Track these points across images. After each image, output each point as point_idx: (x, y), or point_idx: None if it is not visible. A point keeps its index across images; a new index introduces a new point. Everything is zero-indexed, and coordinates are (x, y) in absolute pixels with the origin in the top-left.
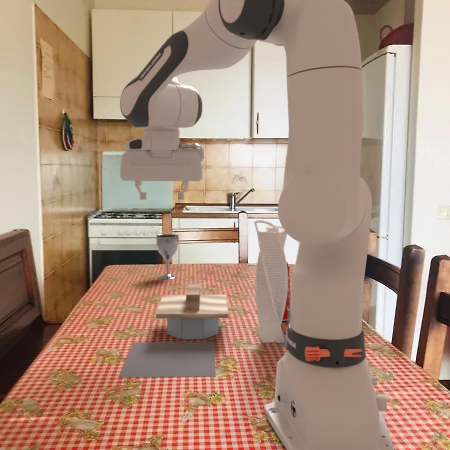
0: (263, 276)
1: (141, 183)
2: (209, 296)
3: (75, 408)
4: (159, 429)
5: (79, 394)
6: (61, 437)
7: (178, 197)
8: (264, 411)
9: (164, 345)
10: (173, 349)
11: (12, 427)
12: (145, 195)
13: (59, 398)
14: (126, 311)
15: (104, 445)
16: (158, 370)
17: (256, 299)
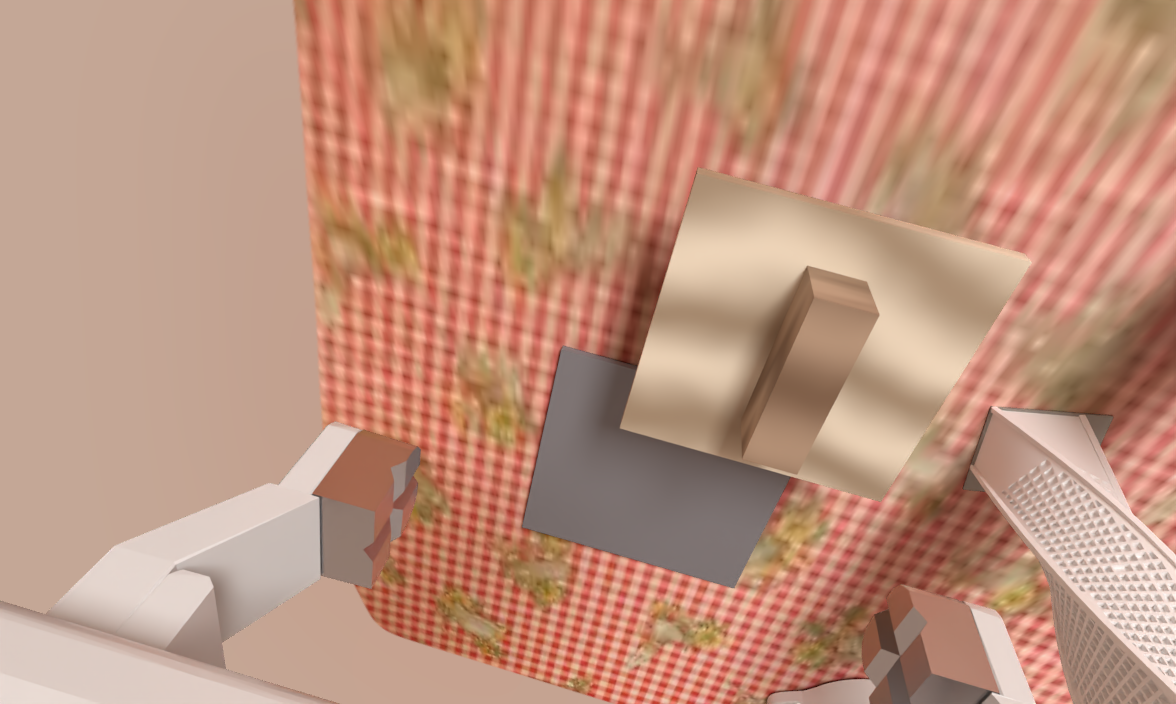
0: (1075, 657)
1: (198, 635)
2: (926, 269)
3: (454, 584)
4: (589, 669)
5: (452, 547)
6: (448, 640)
7: (871, 669)
8: (768, 701)
9: None
10: None
11: (371, 598)
12: (388, 538)
13: (419, 548)
14: None
15: (510, 671)
16: (612, 528)
17: (1023, 541)
